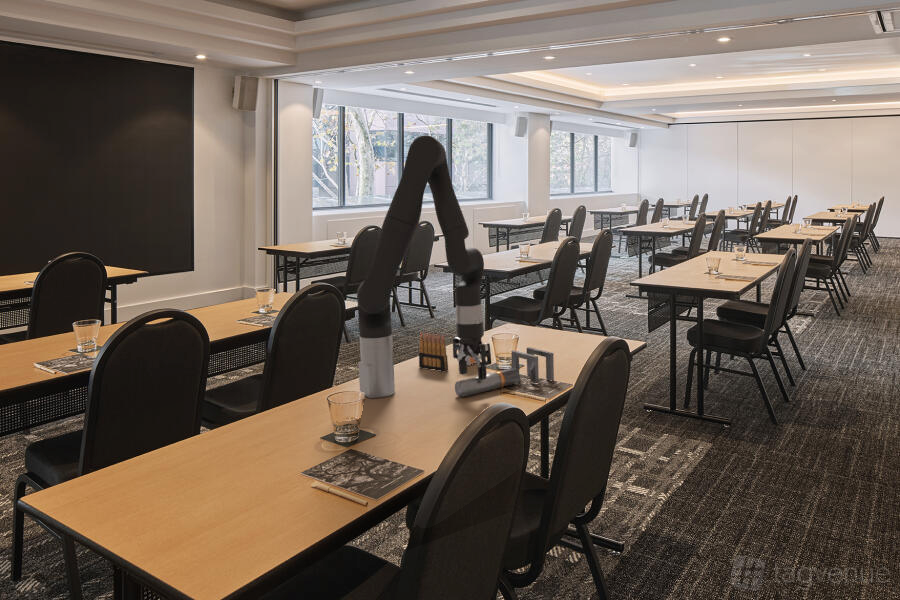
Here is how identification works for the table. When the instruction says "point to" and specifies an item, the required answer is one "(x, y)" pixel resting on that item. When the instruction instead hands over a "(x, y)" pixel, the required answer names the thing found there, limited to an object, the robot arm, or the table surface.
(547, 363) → the dark grey rectangular frame
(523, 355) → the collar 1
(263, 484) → the table surface
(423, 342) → the ammunition clip
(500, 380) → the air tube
